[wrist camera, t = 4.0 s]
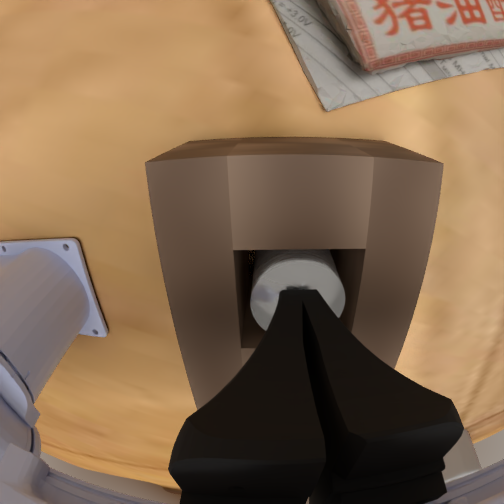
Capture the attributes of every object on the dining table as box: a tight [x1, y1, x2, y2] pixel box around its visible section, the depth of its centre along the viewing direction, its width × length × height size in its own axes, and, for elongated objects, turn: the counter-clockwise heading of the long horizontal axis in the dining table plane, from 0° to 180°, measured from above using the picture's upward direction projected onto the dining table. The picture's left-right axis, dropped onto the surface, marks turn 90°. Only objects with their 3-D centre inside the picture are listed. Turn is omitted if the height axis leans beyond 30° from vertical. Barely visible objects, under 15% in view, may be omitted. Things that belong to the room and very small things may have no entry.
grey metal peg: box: [251, 249, 345, 331], centre depth 14 cm, size 4×4×6 cm
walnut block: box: [145, 137, 443, 410], centre depth 16 cm, size 10×22×6 cm, turn 2°
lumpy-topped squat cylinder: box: [442, 429, 481, 484], centre depth 25 cm, size 10×13×9 cm
